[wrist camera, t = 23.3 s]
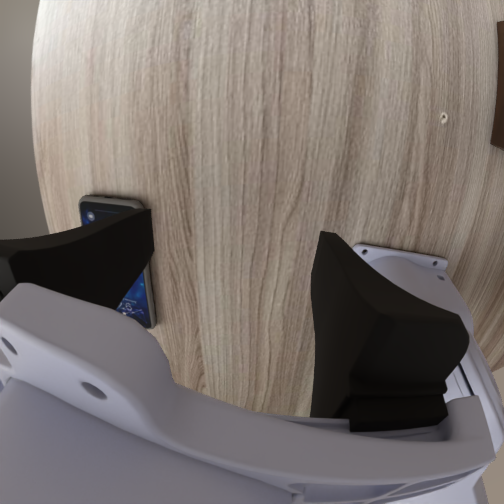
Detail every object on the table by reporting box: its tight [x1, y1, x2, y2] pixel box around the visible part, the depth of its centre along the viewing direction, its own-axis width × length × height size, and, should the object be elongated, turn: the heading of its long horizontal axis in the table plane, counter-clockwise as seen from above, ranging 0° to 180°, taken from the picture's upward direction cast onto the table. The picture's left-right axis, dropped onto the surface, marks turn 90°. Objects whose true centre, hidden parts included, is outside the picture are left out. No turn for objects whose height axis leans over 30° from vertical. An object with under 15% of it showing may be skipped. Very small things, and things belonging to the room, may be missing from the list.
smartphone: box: [78, 195, 156, 329], centre depth 26 cm, size 7×1×15 cm
